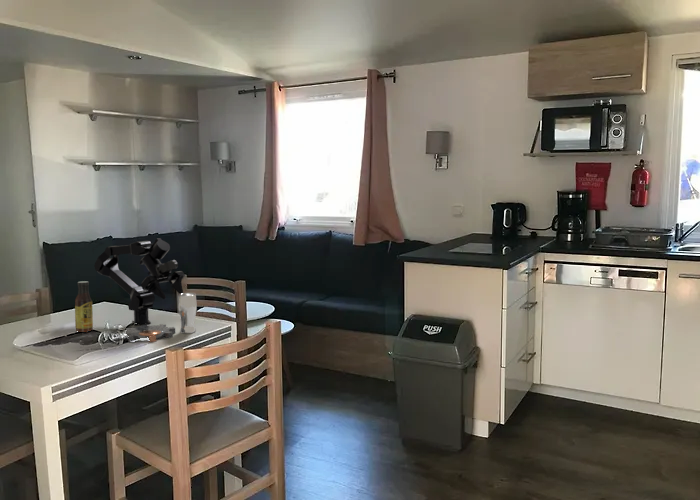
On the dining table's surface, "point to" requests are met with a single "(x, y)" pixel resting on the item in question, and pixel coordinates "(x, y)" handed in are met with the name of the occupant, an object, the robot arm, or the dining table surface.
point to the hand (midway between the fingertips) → (173, 296)
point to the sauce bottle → (83, 308)
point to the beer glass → (187, 312)
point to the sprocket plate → (150, 332)
